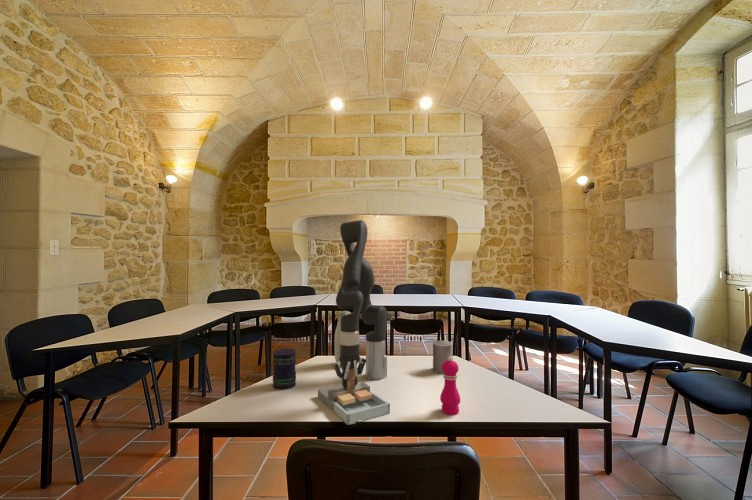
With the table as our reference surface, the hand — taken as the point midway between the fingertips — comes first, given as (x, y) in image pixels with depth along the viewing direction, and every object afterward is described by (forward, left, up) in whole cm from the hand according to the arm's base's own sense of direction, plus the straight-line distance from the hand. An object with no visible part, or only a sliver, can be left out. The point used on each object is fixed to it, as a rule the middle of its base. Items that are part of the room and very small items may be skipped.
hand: (349, 386), depth 134 cm
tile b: (+3, +4, -3) cm, 6 cm away
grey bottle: (-19, -43, -7) cm, 47 cm away
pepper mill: (-29, +25, -7) cm, 39 cm away
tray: (0, +10, -6) cm, 12 cm away
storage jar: (+16, -31, -7) cm, 36 cm away
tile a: (-4, +4, -3) cm, 6 cm away
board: (0, -4, -6) cm, 7 cm away
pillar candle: (-57, -10, -7) cm, 58 cm away
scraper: (0, 0, -3) cm, 3 cm away
